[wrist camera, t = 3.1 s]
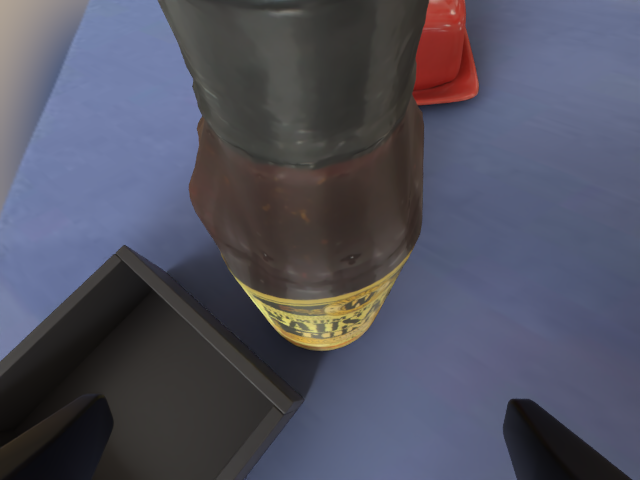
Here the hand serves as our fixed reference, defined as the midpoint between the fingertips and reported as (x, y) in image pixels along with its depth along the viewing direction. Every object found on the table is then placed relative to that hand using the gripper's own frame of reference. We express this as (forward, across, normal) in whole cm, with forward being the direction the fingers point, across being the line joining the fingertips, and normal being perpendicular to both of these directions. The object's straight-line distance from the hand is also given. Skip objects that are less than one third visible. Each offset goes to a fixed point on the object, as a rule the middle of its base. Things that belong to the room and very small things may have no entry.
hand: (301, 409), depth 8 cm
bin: (+8, +9, +9) cm, 15 cm away
